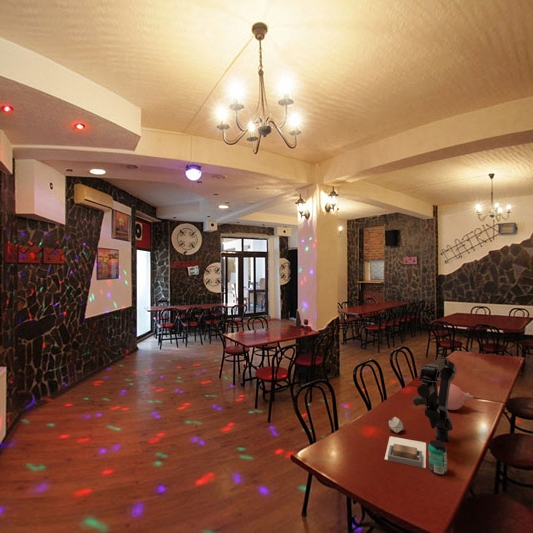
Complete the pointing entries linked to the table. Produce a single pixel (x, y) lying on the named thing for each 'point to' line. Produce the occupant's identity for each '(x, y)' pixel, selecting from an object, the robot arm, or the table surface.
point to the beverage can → (437, 458)
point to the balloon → (456, 397)
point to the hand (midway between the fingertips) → (432, 424)
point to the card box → (405, 451)
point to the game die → (395, 424)
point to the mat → (411, 443)
